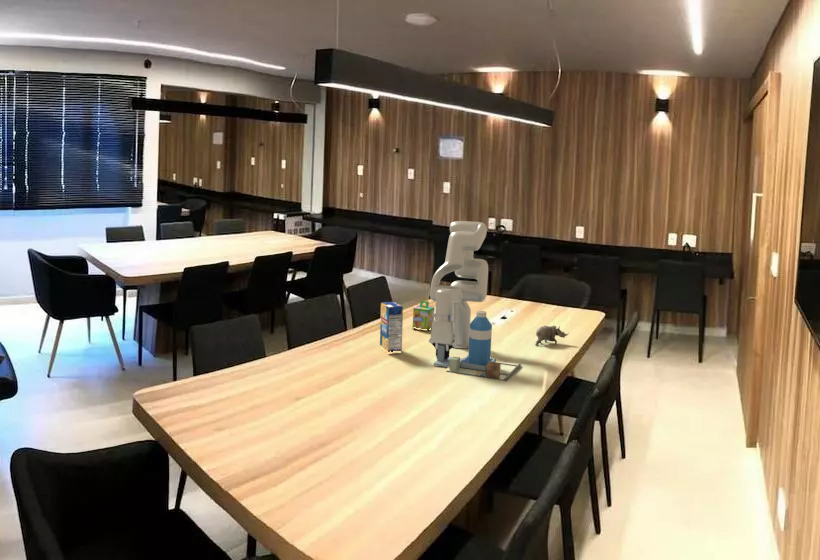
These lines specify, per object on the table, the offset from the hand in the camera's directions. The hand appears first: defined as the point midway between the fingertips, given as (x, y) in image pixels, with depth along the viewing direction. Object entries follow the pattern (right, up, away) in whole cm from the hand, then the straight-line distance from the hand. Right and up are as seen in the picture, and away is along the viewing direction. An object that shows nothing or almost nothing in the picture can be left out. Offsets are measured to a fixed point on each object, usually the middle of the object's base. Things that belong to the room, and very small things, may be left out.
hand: (442, 357), depth 297 cm
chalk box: (-7, +8, +61) cm, 62 cm away
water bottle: (+15, -4, -7) cm, 17 cm away
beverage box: (-23, +1, +17) cm, 29 cm away
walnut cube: (+20, -5, -20) cm, 29 cm away
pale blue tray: (+9, -3, -4) cm, 11 cm away
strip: (+8, -5, -15) cm, 17 cm away
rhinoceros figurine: (+54, +2, +38) cm, 66 cm away
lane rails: (+17, -5, -11) cm, 21 cm away
